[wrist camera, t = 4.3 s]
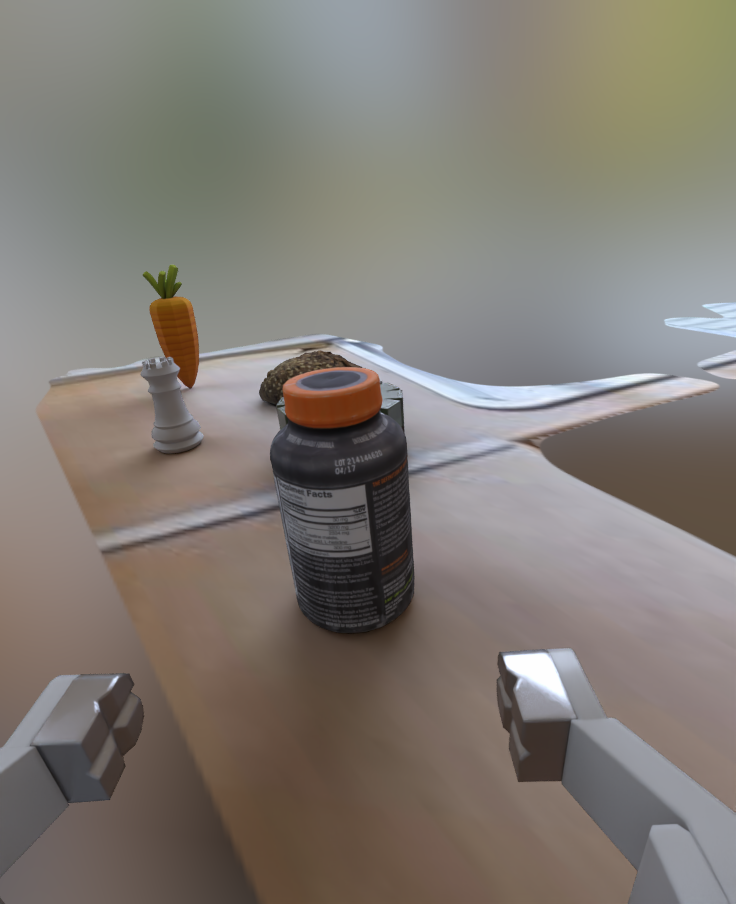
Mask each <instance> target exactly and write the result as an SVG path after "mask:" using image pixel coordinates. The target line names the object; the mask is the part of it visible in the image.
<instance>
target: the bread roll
mask: <svg viewBox="0 0 736 904" xmlns="http://www.w3.org/2000/svg"><path fill="white" fill-rule="evenodd" d="M337 367H357V368H362V367H361V366H358V365H356V364H353V363H351V362H348V361H347V360H346V359H345V358H343V357H342V356H340V355H335V354H332V353H331V352H323V351H317V352H315V351H314V352H312V353H304V354H303V355H301V356H300V357H296V358H292V359H289V360H286V361H284V362H283V363H281V364H280V365H278V366H277V367H276V368H275V369H274V370H270V371H269V372H268V373H267V378H265V379H264V382H262V384H261V388H260V391H259V394H260V397H261V399H262V400H264V401H267V402H270V403H273V404H276V405H277V404H278V402H279V401H280V399H281V398H282V397H284V396H283V385H284V384H285V383H286V382H287V381H288V380H289V379H291V378H293V377H295V376H298V375H300V374H304V373H307V372H311V371H315V370H321V369H328V368H337ZM365 369H366V368H365Z"/></svg>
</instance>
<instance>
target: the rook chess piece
mask: <svg viewBox="0 0 736 904" xmlns="http://www.w3.org/2000/svg"><path fill="white" fill-rule="evenodd" d="M159 359H160V362H157V363H156V362H155V359H154V358H153V359H148V360H149V364H150V365H148V361H143V362H142V364H143V370H142V372H141V376H142V377H143V378H144V379H146V380H147V381H148V382H149V385H150V387H149V389H148V392H149V393H151V394H152V397H153V401H154V408H155V422H154V426H155V427H154V428H153V430H152V438H153V439H154V440H156V442H155V443H154V448H156V449H157V450H158V451H160V452H162V453H179V452H183V451H187V450H189V449H192V448H194V447H196V446H197V445H199V444H200V442H201V440H202V438H203V434H202V433H201V432H199V430H200V428H201V427H200V425H199V423H198V421H196V420H195V419H193V416H192V415H191V414H190V413H189V412H188V410H187V408H186V406H185V403H184V401H183V398H182V395H181V391H180V388H181V386H182V385H181V384H180V383H179V382H178V381H177V375H178V372H179V370H180V367H178V366H177V365H176V364H175V363H174V361H173V358H172V357H167V360H168V362H167V361H166V358H165V357H160V358H159Z"/></svg>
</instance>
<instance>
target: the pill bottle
mask: <svg viewBox="0 0 736 904" xmlns="http://www.w3.org/2000/svg"><path fill="white" fill-rule="evenodd" d="M283 396H284V402H285V413H286V416H287V419H288V424H287V425H286V426H285V427H284V428H282V429H281V430H280V431H279V432H278V434H277V435H276V436H275V438H274V440H273V442H272V445H271V449H270V460H271V463H272V468H273V474H274V481H275V486H276V491H277V497H278V502H279V507H280V512H281V518H282V523H283V528H284V533H285V539H286V544H287V549H288V554H289V560H290V565H291V569H292V574H293V580H294V585H295V590H296V596H297V600H298V604H299V607H300V609H301V611H302V612H303V614H304V615H305V616H306V617H307V618H308V619H309V620H310V621H312V622H313V623H314V624H316V625H317V626H319V627H322V628H324V629H327V630H330V631H334V632H338V633H358V632H366V631H370V630H374V629H376V628H379V627H382V626H384V625H386V624H388V623H390V622H391V621H393V620H394V619H396V618H397V617H398V616H399V615H401V614H402V613H403V611H404V610H405V609H406V608H407V606H408V605H409V604H410V602H411V599H412V597H413V594H414V561H413V547H412V529H411V513H410V496H409V495H410V493H409V480H408V461H407V443H406V437H405V434H404V432H403V430H402V428H401V426H400V425H399V424H398V423H397V422H396V421H395V420H394V419H392V418H391V417H390V416H388V415H385V414H383V413H380V409H381V405H382V401H383V399H382V395H381V389H380V380H379V376H378V374H377V373H376V372H374V371H372V370H369V369H365V368H357V367H337V368H328V369H321V370H315V371H311V372H307V373H304V374H300V375H298V376H295V377H293V378H291V379H289V380H288V381H287V382H286V383H285V384H284V385H283Z"/></svg>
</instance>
